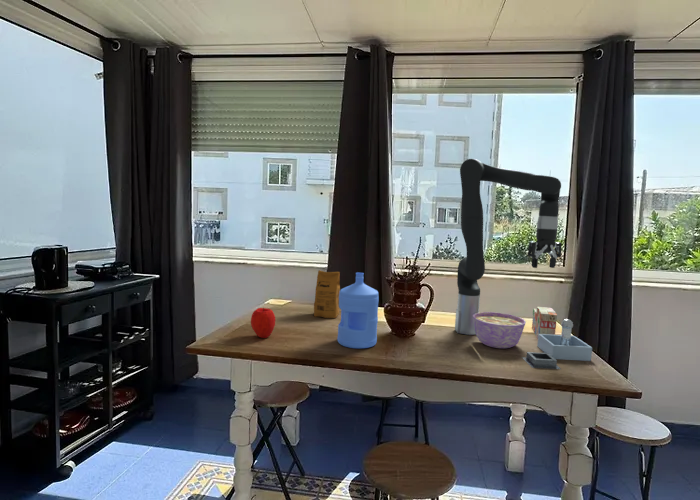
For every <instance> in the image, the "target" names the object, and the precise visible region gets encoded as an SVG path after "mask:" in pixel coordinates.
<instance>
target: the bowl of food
mask: <svg viewBox="0 0 700 500" xmlns="http://www.w3.org/2000/svg"><path fill="white" fill-rule="evenodd" d="M473 320H474V326H475V331H476V334H475V335H476V338H477V340H478V341H479V342H480V343H482V344H483V345H484V346H487V347H491V348H495V349H510V348H513V347H515V346H517V344H518V343H519V342H520V339H521V337H522V335H523V331H524V329H525V326H526V322H527V321H526V320H525V319H524V318H522V317H519V316H516V315H513V314H509V313H502V312H496V311H495V312H494V311H484V312H479V313H476V314H474V315H473Z"/></svg>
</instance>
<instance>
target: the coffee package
mask: <svg viewBox="0 0 700 500" xmlns="http://www.w3.org/2000/svg"><path fill="white" fill-rule="evenodd" d="M340 273H341V272H340V271H323V270H321V269H320V270H318V272H317V277H316V286H315V294H314V295H315V296H314V301H313V317H315V318H316V317H318V318H319V317H321V318H324V319H335V318H337V317H338V316H339V315H340V308H339V293H340V290H341V285H340V280H341V279H340Z"/></svg>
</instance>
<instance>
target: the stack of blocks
mask: <svg viewBox="0 0 700 500" xmlns="http://www.w3.org/2000/svg"><path fill="white" fill-rule="evenodd" d="M557 321H558V314H557V313H556V311H555V310H554V309H553V308H552V307H546V306H544V307H543V306H536V308H533V309H532V325H531V328H532V330H533V333H534V334H535V336H536V338H537V340H538V334H549V335H556V328H557Z"/></svg>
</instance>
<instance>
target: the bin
mask: <svg viewBox="0 0 700 500" xmlns="http://www.w3.org/2000/svg"><path fill="white" fill-rule="evenodd" d="M560 344H561V334H555V335H549V334H538V339H537V343H536V345H537V347H538V348H539V349H540V350H541V351H542V353H549V354H550V355H551V356H552V357H553V358H554V359H556V360H564V361H565V360H567V361H583V362H584V361H586V362H591V361H592V355H593V347H592V346H591V345H589V344H588V343H586V342H584V341H583V340H582V339H580V338H578V337H577V336H575V335H571V339H570V346H564V345H560Z"/></svg>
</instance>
